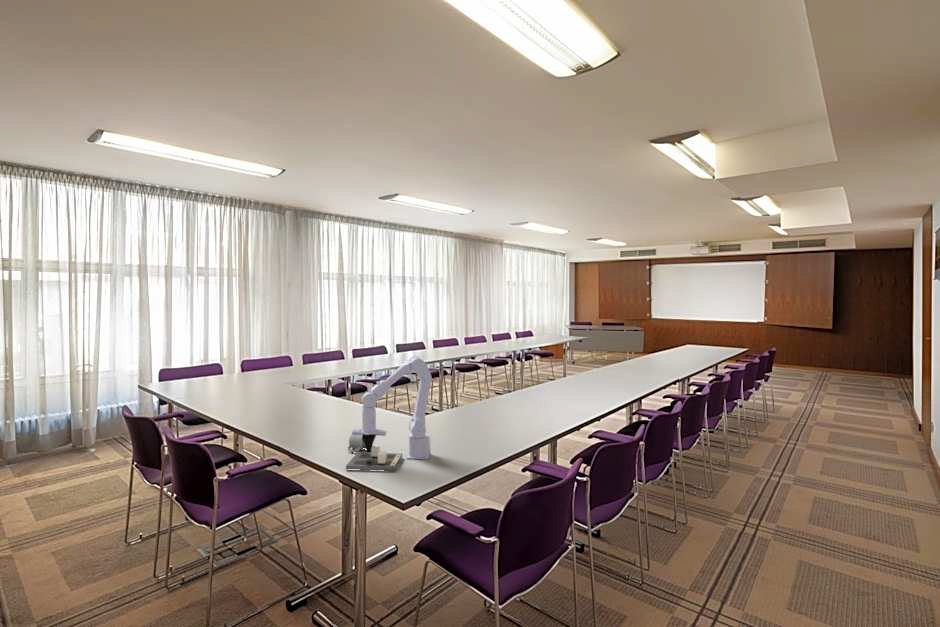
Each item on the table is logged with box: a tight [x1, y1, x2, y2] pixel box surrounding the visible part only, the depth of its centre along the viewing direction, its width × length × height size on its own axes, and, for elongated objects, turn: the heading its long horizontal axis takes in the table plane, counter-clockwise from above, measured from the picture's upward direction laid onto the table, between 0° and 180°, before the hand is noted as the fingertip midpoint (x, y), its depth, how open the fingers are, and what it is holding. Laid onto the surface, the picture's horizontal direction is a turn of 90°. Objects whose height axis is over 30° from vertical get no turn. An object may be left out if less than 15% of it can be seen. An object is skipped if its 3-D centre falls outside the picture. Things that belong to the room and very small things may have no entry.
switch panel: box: [345, 452, 403, 472], centre depth 196 cm, size 20×16×2 cm
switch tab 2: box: [378, 451, 388, 463], centre depth 192 cm, size 3×3×4 cm
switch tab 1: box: [370, 444, 381, 457], centre depth 200 cm, size 3×3×4 cm
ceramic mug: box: [347, 434, 366, 453], centre depth 215 cm, size 11×8×8 cm
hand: (369, 451), depth 201 cm, fingers closed
